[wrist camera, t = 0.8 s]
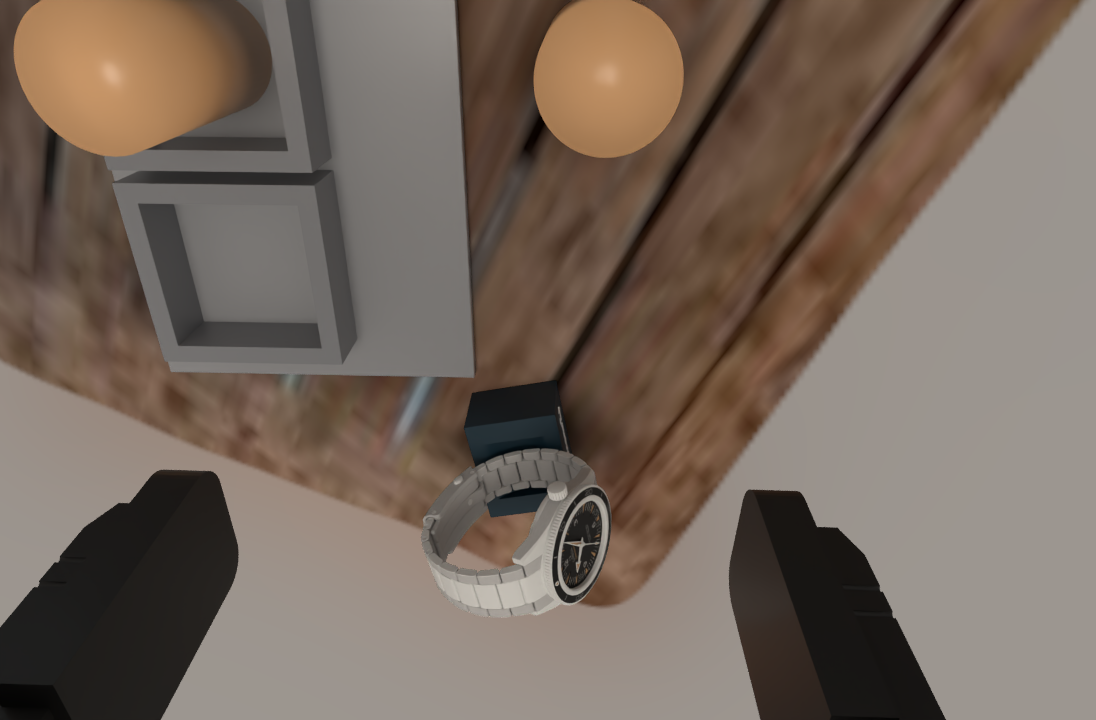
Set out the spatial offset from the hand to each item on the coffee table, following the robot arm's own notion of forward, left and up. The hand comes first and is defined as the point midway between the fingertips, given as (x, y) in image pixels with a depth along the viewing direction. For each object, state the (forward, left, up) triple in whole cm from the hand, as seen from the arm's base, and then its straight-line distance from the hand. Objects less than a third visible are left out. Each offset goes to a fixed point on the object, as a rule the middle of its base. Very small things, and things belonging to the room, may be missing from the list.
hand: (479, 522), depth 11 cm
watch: (+13, -1, -22) cm, 26 cm away
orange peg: (-5, +2, -22) cm, 22 cm away
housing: (0, -11, -22) cm, 24 cm away
